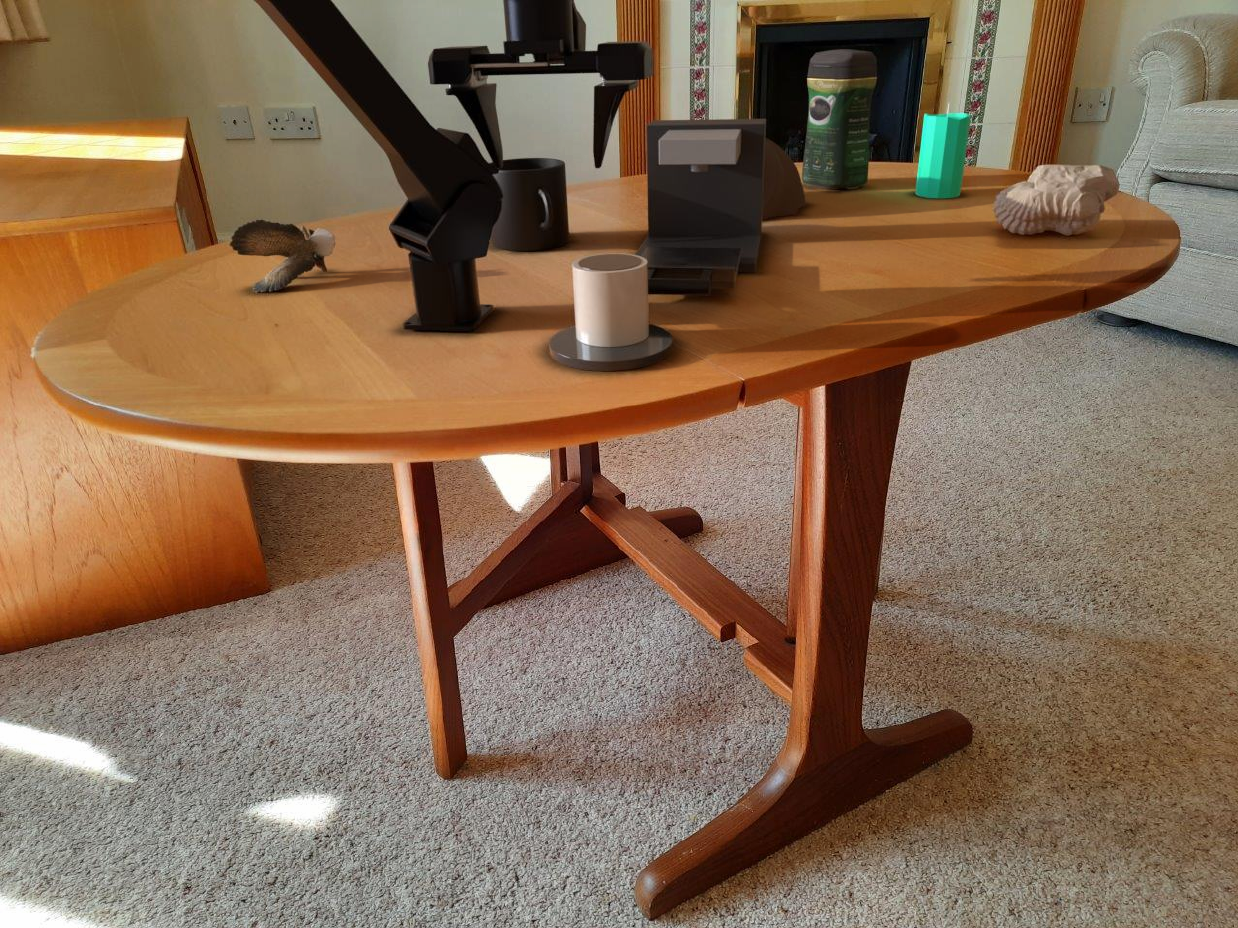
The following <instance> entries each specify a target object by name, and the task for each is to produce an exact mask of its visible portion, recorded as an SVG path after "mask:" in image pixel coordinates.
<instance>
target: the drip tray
mask: <svg viewBox="0 0 1238 928" xmlns="http://www.w3.org/2000/svg"><path fill="white" fill-rule="evenodd" d="M741 256H742V248H684V247H646V249H645V251H644V252H643V254H642V255H641V257H644V258H645V259H647V261H648V295H658V296H659V295H661V296H665V295H666V296H667V295H668V296H710V295H711V290H734V289H735V285H736V281H737V276H738V273H739V272H738V269H739V264H740V260H741Z"/></svg>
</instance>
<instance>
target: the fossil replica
mask: <svg viewBox="0 0 1238 928" xmlns="http://www.w3.org/2000/svg"><path fill="white" fill-rule="evenodd" d="M1119 190H1120V181H1119V179H1118V177H1117V173H1116V171H1115V170H1114V169H1113V168H1110V167H1108V166H1104V165H1102V164H1093V165H1092V164H1091V165H1090V164H1089V165H1085V164H1084V165H1083V164H1082V165H1081V164H1053V163H1051V164H1041V165H1038V166H1036V168H1035V169H1034V170H1033V171H1032V173H1031V174H1030V175H1029V177H1028V179H1027V180H1024V181H1020V182H1018V183H1014V184H1013V185H1011V186H1009V187H1008V188H1007V187H1006V188H1004V190H1001V191H1000V192H999V194H996V196H995V200H994V207H993V209H992V211H993V212H994V218H996V219H997V223H998V224H999V225H1002V227H1003V229H1004V230H1007V231H1008V232H1010V233H1011V234H1018V235H1021V236H1024V235H1029V236H1032V235H1035V234H1037V233H1038V234H1040V233H1041V234H1043V233H1045V231H1052V232H1056V233H1059V234H1062V235H1063V236H1066V237H1068V236H1072V235H1081V234H1084V233H1086V232H1088V231H1090V230H1092V229H1093V228H1094V227H1095V226H1096V225H1097V224H1098V223H1099V222H1100V219H1101V214H1103V213H1104V212H1105V210H1106V206H1105V202H1107V201H1109V200H1111V199H1113V198H1114V197H1115V196H1117V195H1118V192H1119Z"/></svg>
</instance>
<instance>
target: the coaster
mask: <svg viewBox="0 0 1238 928" xmlns="http://www.w3.org/2000/svg"><path fill="white" fill-rule="evenodd" d="M548 347H549V355H550V356H551V358H552V359H553V360H554V361H555V362H557V363H559V364H561V365H563V366H566V367H569V368H573V369H578V370H585V371H593V372H616V371H617V372H618V371H627V370H634V369H635V370H636V369H640V368H644V367H647V366H651V365H654V364H656V363H659V362H661V361H663V360H665V359H666V358H668V357H669V356H670V355H671V354H672V352H673V350H674V338H673V335H672V333H670V332H669V331H668V330H667V329H665V328H663V327H661V326H659V325H655V324H652V323H649V336H648V337H647V338H646V339H645V340H644V341H641V342H639V343H636V344H633V345H628V346H622V347H597V346H591V345H587V344H584V343H582V342H580V341H578V340H577V338H576V328H575V325H573V326H570V327H569V326H568V327H567V328H564V329H561V330H560V331H557V332H556V333H555V334H554V335H553V336H551V338H550V339H549V343H548Z"/></svg>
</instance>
